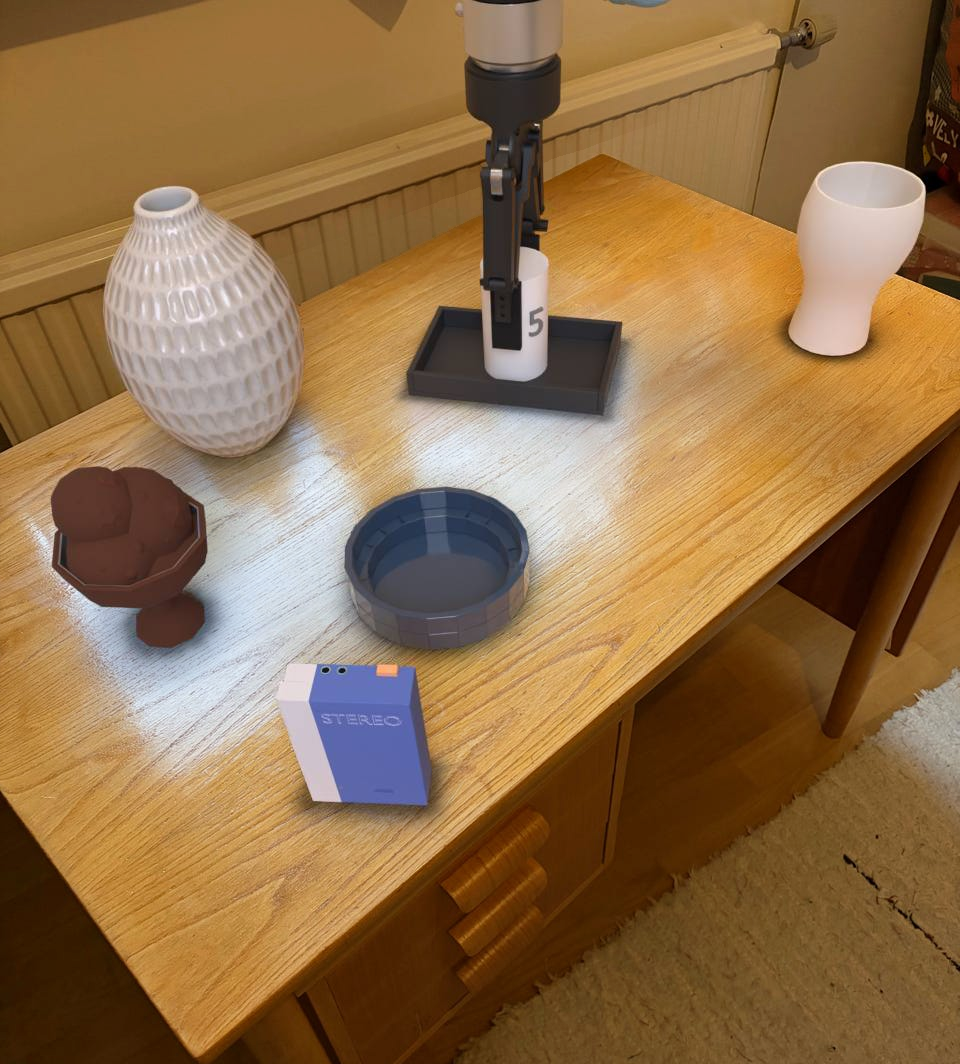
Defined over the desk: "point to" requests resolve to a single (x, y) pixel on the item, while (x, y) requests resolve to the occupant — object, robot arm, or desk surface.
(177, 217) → the vase
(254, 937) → the desk surface
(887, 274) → the cup
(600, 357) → the tray
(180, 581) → the ice cream bowl
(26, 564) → the desk surface
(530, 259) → the candle
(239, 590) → the desk surface
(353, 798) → the walkman
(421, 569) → the bowl
